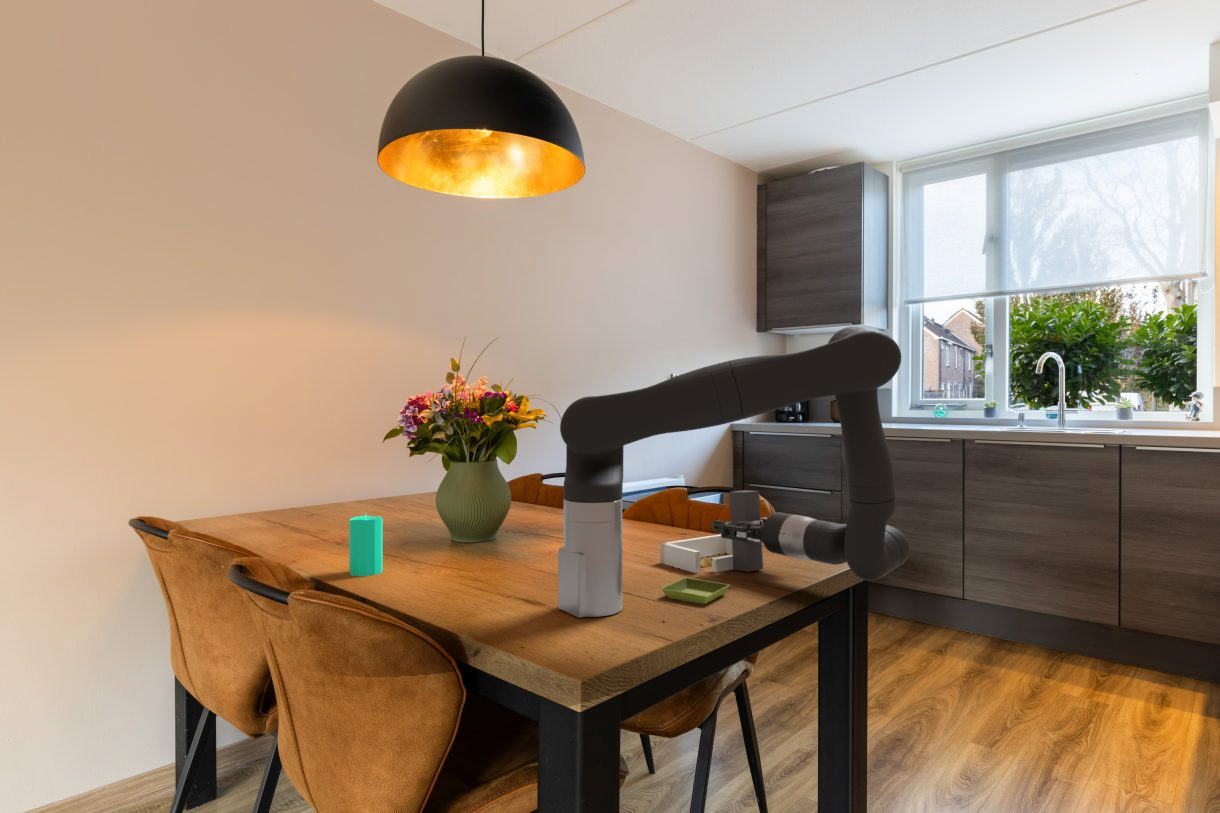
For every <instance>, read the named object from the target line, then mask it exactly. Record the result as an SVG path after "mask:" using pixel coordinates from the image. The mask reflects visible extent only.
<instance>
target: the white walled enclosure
mask: <svg viewBox="0 0 1220 813" xmlns="http://www.w3.org/2000/svg"><path fill="white" fill-rule="evenodd" d="M723 553H727V554H726V555H730V554H733V552H732V539H726V538H722V537H721V533H718V534H715V535H707V536H706V535H705V536H700V537H695V538H687V539H681V540H675V541H673V540H672V541H667V542H661V543H660V564H663V565H666V566H669V567H672V566H673V568H677V569H679V568H680V570H683V571H687V572H691V573H693V574H699V573H701V566H700V563H701V559H702V557H703V558H705V557H707V556H709V557H714V556H719V555H718V554H720V555H724V554H723ZM713 555H714V556H713Z"/></svg>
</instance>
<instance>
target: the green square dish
mask: <svg viewBox="0 0 1220 813" xmlns="http://www.w3.org/2000/svg"><path fill="white" fill-rule="evenodd" d="M729 587H730V584H728V583H723V582H722V583H721V582H716V581H710V580H702V579H698V578H697V579H696V578H691V577H683V578H681V579H678V580H676V581H674V582H672V583H670V584H668V585H665V586H663V587H661V589H660V590H661V591H662V592H663V594H664V595H665V596H666V597H667V598H668V599H672V600H676V601H677V600H678V601H684V602H689V603H694V604H699V603H700V605H707V604H708V602H709V603H711V602H712V601H714V600H716V599H718V598H719V596H720V597H721V596H723V595H724V594H725V592H726V591H727V590H728V589H729ZM717 597H718V598H717Z"/></svg>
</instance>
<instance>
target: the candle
mask: <svg viewBox="0 0 1220 813" xmlns="http://www.w3.org/2000/svg"><path fill="white" fill-rule="evenodd" d="M383 521H384V520H383V517H382V516H381V515H378V516H372V515H371V516H370V515H367V514H364V515H360V516H359V515H358V516H354V517H351V518H350V519H349V521H348V523H349V524H348V526H349V528H348V529H349V530H348V531H349V533H348V537H349V538H348V539H349V542H348V546H349V547H348V550H349V552H348V555H349V556H348V557H349V562H348V563H349V568H348V569H349V570H348V571H349V575H350V576H354V577H369V576H370V575H371V576H375V575H379V574H382V573H383V570H384V569H383V567H384V566H383V565H384V564H383V561H384V560H383V558H384V557H383V554H384V553H383V550H384V548H383V545H384V542H383V541H384V539H383V536H384V534H383V533H384V532H383V531H384V530H383V528H384V527H383V526H384V525H383V523H384V522H383Z"/></svg>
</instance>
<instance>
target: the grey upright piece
mask: <svg viewBox="0 0 1220 813" xmlns="http://www.w3.org/2000/svg"><path fill="white" fill-rule="evenodd" d="M729 506H730V507H729V509H730V523H738V522H739V521H740V520H743V521H754V520H760V518H761V508H760V491H759V490H746V489H745V490H734V491H729ZM746 526H747V524H743V527H746ZM732 552H733V555H730V554H729V555H730V556H724V557H719V558H713V559H712V566H713V567H712V573H713V572H714V573H719V572H720V573H721V572H726V571H731V570H736V571H742V572H754V571H759V570H764V564H765V560H764V550H763V542H754V541H753V540H747V542H742V541H737V540H732Z"/></svg>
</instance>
